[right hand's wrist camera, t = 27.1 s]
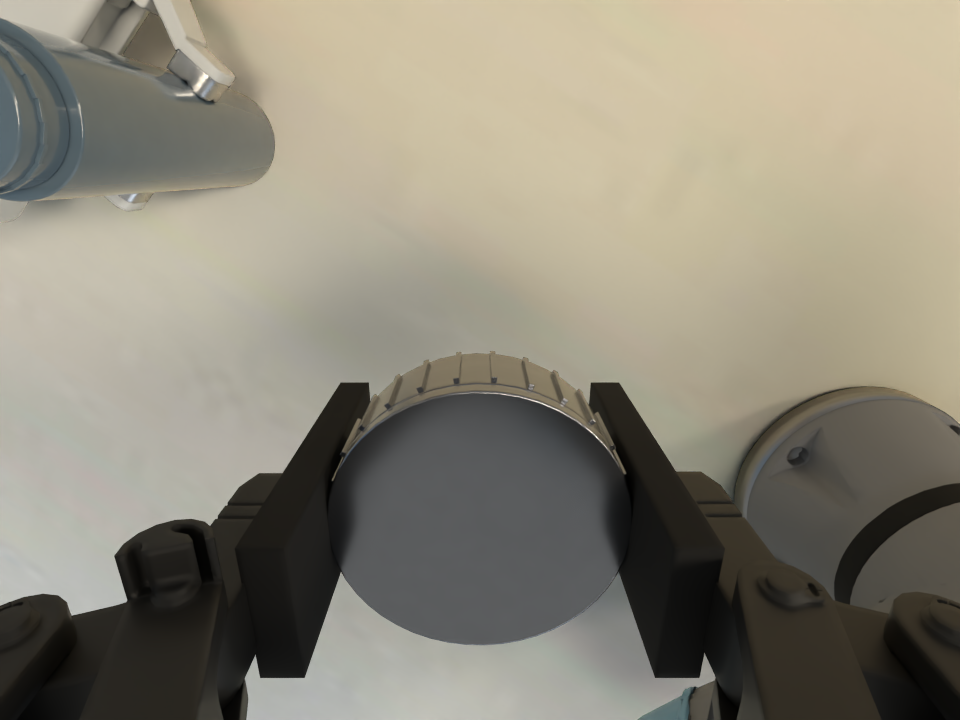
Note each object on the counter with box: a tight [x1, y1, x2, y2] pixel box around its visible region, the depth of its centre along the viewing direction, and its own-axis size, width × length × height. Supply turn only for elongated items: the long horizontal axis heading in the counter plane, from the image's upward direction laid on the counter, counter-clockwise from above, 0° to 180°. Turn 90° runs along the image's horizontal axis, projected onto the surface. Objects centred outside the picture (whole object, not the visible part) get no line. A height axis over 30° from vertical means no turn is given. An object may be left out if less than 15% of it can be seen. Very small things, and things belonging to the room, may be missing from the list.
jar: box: [0, 18, 275, 202], centre depth 22 cm, size 5×5×17 cm
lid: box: [327, 351, 633, 645], centre depth 11 cm, size 6×6×2 cm
